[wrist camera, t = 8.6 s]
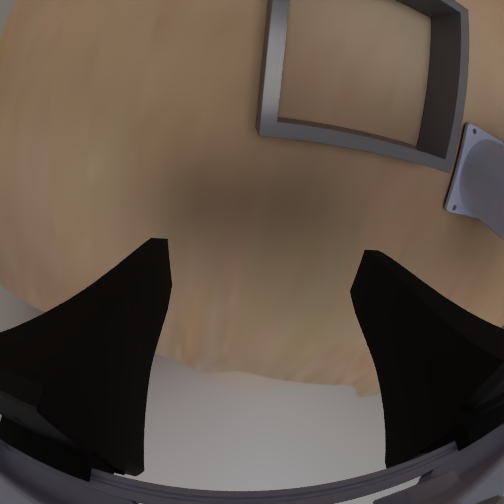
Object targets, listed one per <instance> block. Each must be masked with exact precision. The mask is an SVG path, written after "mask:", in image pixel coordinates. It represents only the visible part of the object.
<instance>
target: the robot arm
mask: <svg viewBox="0 0 504 504" xmlns="http://www.w3.org/2000/svg"><path fill="white" fill-rule="evenodd" d="M453 206H454V207H453ZM445 209H446V210H447V211H448V212H452V213H456V214H461V215H465V216H470V217H474V218H478V219H479V220H480V221H482V222H483V223H484V224H485V225H486V226H488V227H489V228H490V229H491V230H492V231H493V232H495V233H496V234H497V235H498V236H499V237H500V238H501V239H502V240H504V143H503V142H502V141H500V140H498V139H497V138H495V137H494V136H492V135H490V134H489V133H487V132H485V131H484V130H482V129H480V128H478V127H476V126H475V125H473V124H471V123H467V124H466V125H465V129H464V134H463V139H462V144H461V148H460V153H459V157H458V161H457V165H456V169H455V173H454V176H453V180H452V183H451V187H450V190H449V193H448V196H447V200H446V203H445ZM171 288H172V280H171V271H170V261H169V250H168V239H160V238H151V239H149V240H148V241H146V242H145V243H144V244H142V245H141V246H140V247H139V248H137V249H136V250H135V251H134V252H133V253H131V254H130V255H129V256H128V257H126V258H125V259H124V260H123V261H121V262H120V263H119V264H118V265H117V266H115V267H114V268H113V269H111V270H110V271H109V272H107V273H106V274H105V275H103V276H102V277H101V278H99V279H98V280H97V281H96V282H94V283H93V284H91V285H90V286H89V287H87V288H86V289H84V290H83V291H81V292H80V293H78V294H77V295H75V296H73V297H72V298H70V299H69V300H67V301H65V302H63V303H62V304H60V305H58V306H56V307H54V308H53V309H51V310H49V311H47V312H46V313H44V314H42V315H40V316H38V317H36V318H34V319H32V320H30V321H27V322H25V323H23V324H21V325H18V326H16V327H14V328H11V329H8V330H6V331H3V332H0V414H1V415H2V418H1V421H0V504H139V503H143V504H334V503H339V502H343V501H348V500H352V499H356V498H359V497H363V496H366V495H370V494H373V493H376V492H379V491H382V490H385V489H388V488H391V487H394V486H396V485H399V484H401V483H404V482H407V481H409V480H412V479H414V478H417V477H419V476H421V475H422V476H421V477H420V479H419V482H418V483H417V484H416V485H414V486H412V487H409V488H407V489H405V490H402V491H399V492H396V493H394V494H391V495H388V496H385V497H382V498H380V499H377V500H375V501H374V502H373V504H504V496H503V495H504V329H502V328H500V327H498V326H495V325H493V324H491V323H489V322H487V321H485V320H483V319H481V318H479V317H477V316H475V315H473V314H471V313H470V312H468V311H466V310H464V309H463V308H461V307H460V306H458V305H456V304H455V303H453V302H452V301H450V300H448V299H447V298H445V297H444V296H442V295H441V294H440V293H438V292H437V291H435V290H434V289H433V288H431V287H430V286H428V285H427V284H426V283H424V282H423V281H422V280H420V279H419V278H418V277H416V276H415V275H414V274H412V273H411V272H410V271H408V270H407V269H405V268H404V267H403V266H401V265H400V264H399V263H397V262H396V261H394V260H393V259H392V258H390V257H389V256H387V255H385V254H384V253H382V252H380V251H377V250H365V251H364V254H363V257H362V260H361V263H360V266H359V268H358V271H357V274H356V277H355V279H354V282H353V285H352V287H351V290H350V293H351V298H352V302H353V306H354V310H355V314H356V316H357V319H358V321H359V324H360V327H361V329H362V332H363V334H364V337H365V339H366V342H367V345H368V347H369V350H370V353H371V355H372V358H373V361H374V364H375V367H376V371H377V376H378V380H379V385H380V390H381V396H382V403H383V409H384V419H385V431H386V432H385V435H386V436H385V438H386V453H385V464H386V468H387V469H384V470H381V471H377V472H374V473H370V474H367V475H363V476H359V477H355V478H351V479H347V480H343V481H338V482H333V483H327V484H321V485H316V486H309V487H301V488H293V489H283V490H269V491H210V490H197V489H187V488H179V487H171V486H165V485H158V484H153V483H147V482H142V481H138V480H133V479H129V478H125V477H121V476H117V475H114V473H118V474H122V475H125V474H128V475H132V476H138V475H139V474H141V473H142V472H143V471H144V427H145V412H146V401H147V392H148V384H149V377H150V371H151V366H152V361H153V357H154V354H155V350H156V347H157V343H158V340H159V336H160V333H161V330H162V326H163V323H164V320H165V316H166V313H167V310H168V305H169V300H170V294H171ZM136 502H138V503H136Z"/></svg>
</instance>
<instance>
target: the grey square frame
mask: <svg viewBox="0 0 504 504" xmlns="http://www.w3.org/2000/svg"><path fill="white" fill-rule="evenodd" d="M396 1H399V2H401V3H403V4H405V5H407V6H410V7H412V8H414V9H416V10H418V11H420V12H422V13H424V14H425V15H427V16H429V17H431V50H430V64H429V75H428V84H427V92H426V99H425V106H424V112H423V118H422V124H421V129H420V135H419V140H418V144H417V146H415V145H412V144H408V143H405V142H402V141H398V140H394V139H391V138H387V137H383V136H379V135H375V134H371V133H367V132H363V131H358V130H353V129H349V128H344V127H339V126H333V125H328V124H322V123H316V122H310V121H303V120H296V119H288V118H280V117H277V116H278V107H279V97H280V88H281V79H282V69H283V60H284V50H285V40H286V30H287V20H288V10H289V0H268V6H267V16H266V25H265V35H264V45H263V55H262V65H261V75H260V85H259V95H258V106H257V116H256V127H255V128H256V130H257V132H258V134H259V136H267V137H278V138H287V139H295V140H303V141H310V142H317V143H324V144H330V145H336V146H342V147H347V148H353V149H358V150H363V151H368V152H372V153H377V154H381V155H386V156H390V157H394V158H398V159H402V160H406V161H410V162H413V163H417V164H421V165H424V166H428V167H431V168H434V169H438V170H441V171H444V172H447V173H451V169H452V165H453V161H454V157H455V153H456V149H457V144H458V139H459V134H460V129H461V124H462V118H463V112H464V105H465V97H466V89H467V78H468V64H469V17H468V9H466V8H465V7H463V6H462V5H461V4H459V3H458V2H456V1H455V0H396Z"/></svg>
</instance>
